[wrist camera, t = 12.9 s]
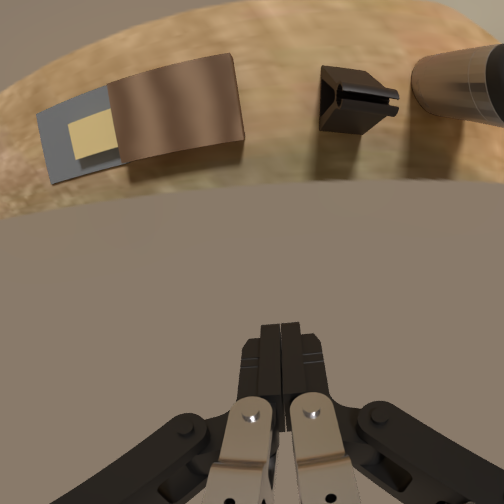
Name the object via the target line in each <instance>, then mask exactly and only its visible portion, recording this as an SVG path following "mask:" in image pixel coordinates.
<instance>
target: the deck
mask: <svg viewBox="0 0 504 504" xmlns="http://www.w3.org/2000/svg"><path fill="white" fill-rule="evenodd" d="M107 90H108V96H109V102H110V108H111V113H112V119H113V124H114V129H115V134H116V139H117V144H118V149H119V154H120V158H121V163H126V162H130V161H134V160H139V159H143V158H147V157H152V156H156V155H161V154H166V153H171V152H176V151H181V150H186V149H191V148H197V147H202V146H208V145H214V144H220V143H226V142H233V141H239V140H244V138H245V132H244V126H243V119H242V113H241V106H240V100H239V94H238V87H237V81H236V75H235V68H234V62H233V57H232V56H231V54H230V53H225V54H220V55H214V56H209V57H204V58H199V59H194V60H190V61H185V62H181V63H177V64H172V65H168V66H165V67H161V68H157V69H153V70H150V71H146V72H143V73H139V74H136V75H133V76H129V77H126V78H123V79H120V80H117V81H114V82H111V83H108V84H107Z"/></svg>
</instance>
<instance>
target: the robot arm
mask: <svg viewBox="0 0 504 504" xmlns="http://www.w3.org/2000/svg"><path fill="white" fill-rule="evenodd" d="M412 88H413V92H414V95H415V97H416V99H417V101H418V102H419V103H420V105H421V106H422V107H423V108H424V109H425V110H426V111H428V112H430V113H431V114H434V115H436V116H443V117H449V118H455V119H461V120H467V121H472V122H478V123H483V124H488V125H493V126H497V127H502V128H504V44H497V45H489V46H483V47H476V48H469V49H463V50H457V51H452V52H446V53H441V54H436V55H431V56H427V57H424V58H422V59H421V60H419V61H418V62H417V64H416V65H415V67H414V69H413V72H412ZM281 339H282V341H281ZM240 367H241V369H240V375H239V385H238V394H237V400H236V403H234V404H233V406H232V407H231V409H230V410H229V411H228V412H226V413H225V414H223V415H220V416H218V417H214V418H210V419H206V420H204V419H203V418H201V417H200V416H199V415H196V414H193V413H184V414H180V415H178V416H175V417H174V418H172V419H171V420H170V421H169V422H167V423H166V424H165V425H164V426H162V427H161V428H160V429H158V430H157V431H155V432H154V433H153V434H152V435H150V436H149V437H147V438H146V439H145V440H143V441H142V442H141V443H139V444H138V445H137V446H136V447H134V448H133V449H131V450H130V451H128V452H127V453H126V454H124V455H123V456H121V457H120V458H119V459H117V460H116V461H114V462H113V463H111V464H110V465H108V466H107V467H106V468H104V469H103V470H101V471H100V472H98V473H97V474H95V475H94V476H92V477H91V478H89V479H88V480H86V481H85V482H83V483H82V484H80V485H79V486H77V487H76V488H74V489H72V490H71V491H69V492H68V493H66V494H65V495H63V496H61V497H60V498H58V499H57V500H55V501H53V502H52V503H50V504H185V503H187V502H188V501H189V500H190V499H192V498H193V497H194V496H195V495H196V494H198V493H199V492H200V491H201V490H202V489H204V488H205V487H206V488H205V492H204V496H203V501H202V504H274V488H275V480H276V469H277V459H278V447H279V432H285V416H286V426H287V431H292V442H293V453H294V461H295V469H296V476H297V485H298V494H299V504H361V501H360V496H359V492H358V488H357V483H356V479H355V475H354V471H353V467H354V468H355V469H357V470H358V471H359V472H361V473H362V474H363V475H365V476H366V477H368V478H369V479H370V480H371V481H373V482H374V483H375V484H377V485H378V486H379V487H381V488H382V489H384V490H385V491H387V492H388V493H389V494H391V495H392V496H393V497H395V498H397V499H398V500H399V501H401V502H402V503H404V504H504V470H503V469H501V468H499V467H498V466H496V465H494V464H492V463H490V462H489V461H487V460H485V459H483V458H481V457H480V456H478V455H476V454H474V453H472V452H471V451H469V450H467V449H466V448H464V447H462V446H460V445H459V444H457V443H455V442H453V441H452V440H450V439H448V438H447V437H445V436H443V435H442V434H440V433H438V432H436V431H435V430H433V429H432V428H430V427H428V426H427V425H425V424H423V423H422V422H420V421H419V420H417V419H415V418H414V417H412V416H410V415H409V414H407V413H405V412H404V411H402V410H401V409H399V408H398V407H396V406H395V405H393V404H391V403H389V402H385V401H374V402H371V403H368V404H367V405H365V406H364V407H363V408H362V409H358V408H350V407H345V406H342V405H340V404H338V403H337V402H335V401H334V400H333V399H332V397H331V396H330V394H329V389H328V383H327V377H326V371H325V365H324V359H323V354H322V347H321V342H320V340H319V339H318V338H317V337H316V336H315V334H313V333H312V334H302V335H301V333H300V324H299V322H292V323H282V324H281V332H280V324H270V325H261V336H260V338H254V339H249V340H248V341H247V342H246V344H245V345H244V347H243V349H242V357H241V366H240Z"/></svg>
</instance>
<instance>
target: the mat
mask: <svg viewBox="0 0 504 504" xmlns="http://www.w3.org/2000/svg"><path fill="white" fill-rule="evenodd" d="M107 109H110V102H109V96H108V90H107V85H106V86H103V87H100V88H97V89H95V90H92V91H89V92H87V93H84V94H81V95H79V96H76V97H74V98H71V99H69V100H67V101H64V102H62V103H60V104H57V105H55V106H53V107H51V108H48V109H46V110H44V111H42V112H40V113H38V114H36V116H37V122H38V128H39V133H40V138H41V143H42V148H43V152H44V157H45V161H46V166H47V170H48V174H49V178H50V182H51V184H54V183H57V182H60V181H64V180H67V179H70V178H74V177H77V176H81V175H84V174H88V173H91V172H95V171H99V170H102V169H106V168H110V167H114V166H118V165H122V164H126V163H130V162H131V161H130V162H126V163H121V158H120V154H119V149H118V147H116V148H112V149H109V150H106V151H102V152H99V153H96V154H93V155H90V156H86V157H83V158H80V159H77V160H76V159H75V155H74V151H73V146H72V142H71V137H70V133H69V128H68V124H70V123H72V122H75V121H77V120H80V119H83V118H85V117H88V116H91V115H93V114H96V113H99V112H102V111H105V110H107Z"/></svg>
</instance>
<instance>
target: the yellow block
mask: <svg viewBox="0 0 504 504" xmlns="http://www.w3.org/2000/svg"><path fill="white" fill-rule="evenodd" d="M68 128H69V133H70V137H71V142H72V146H73V151H74V155H75V159H76V160H77V159H80V158H83V157H86V156H90V155H93V154H96V153H99V152H102V151H106V150H109V149H112V148H116V147H118V144H117V139H116V134H115V129H114V124H113V119H112V113H111V108H110V109H107V110H105V111H102V112H99V113H96V114H93V115H91V116H88V117H85V118H83V119H80V120H77V121H75V122H72V123H70V124H68Z"/></svg>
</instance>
